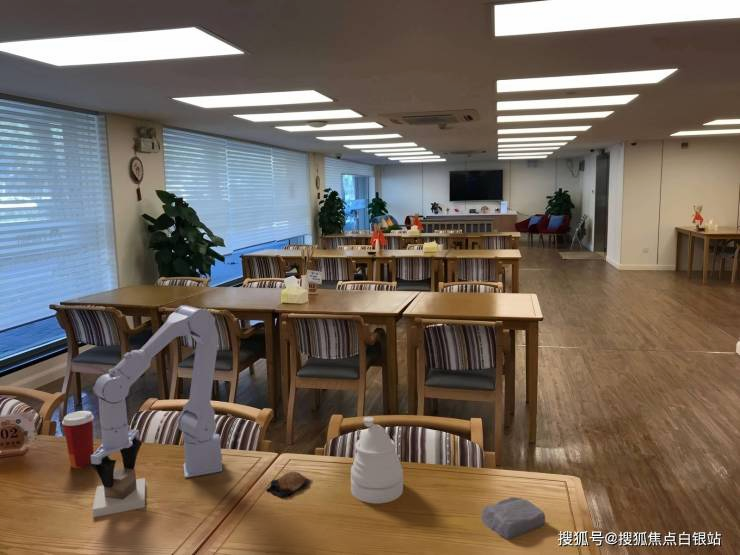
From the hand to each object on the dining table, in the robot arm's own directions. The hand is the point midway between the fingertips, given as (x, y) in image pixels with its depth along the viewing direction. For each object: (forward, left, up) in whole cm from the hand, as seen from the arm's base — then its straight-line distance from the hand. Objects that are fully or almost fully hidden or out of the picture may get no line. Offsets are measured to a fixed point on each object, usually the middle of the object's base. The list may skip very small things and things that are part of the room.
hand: (119, 478), depth 133 cm
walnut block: (0, 0, -4) cm, 4 cm away
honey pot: (-59, +19, -6) cm, 62 cm away
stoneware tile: (0, 0, -6) cm, 6 cm away
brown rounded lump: (-39, +9, -6) cm, 41 cm away
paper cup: (+11, -25, -6) cm, 28 cm away
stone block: (-81, +43, -6) cm, 92 cm away
